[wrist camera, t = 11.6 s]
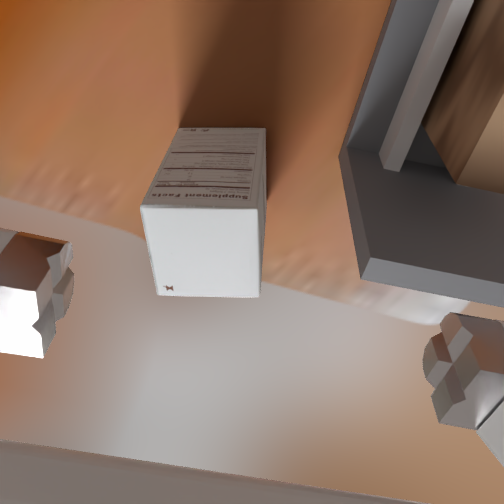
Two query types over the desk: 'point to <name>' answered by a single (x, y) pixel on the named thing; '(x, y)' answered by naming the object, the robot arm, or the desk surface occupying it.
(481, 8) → the door panel
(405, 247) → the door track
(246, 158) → the supplement box
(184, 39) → the desk surface
